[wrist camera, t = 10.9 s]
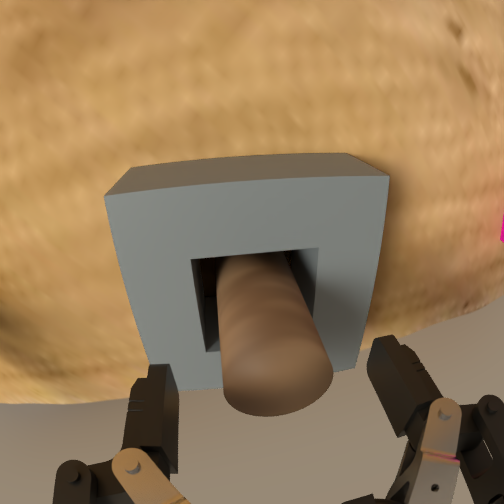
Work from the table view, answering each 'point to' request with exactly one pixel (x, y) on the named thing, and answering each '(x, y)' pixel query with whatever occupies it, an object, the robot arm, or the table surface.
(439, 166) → the table surface
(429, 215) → the table surface
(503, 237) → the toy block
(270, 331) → the tall walnut pin
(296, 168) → the slate block
